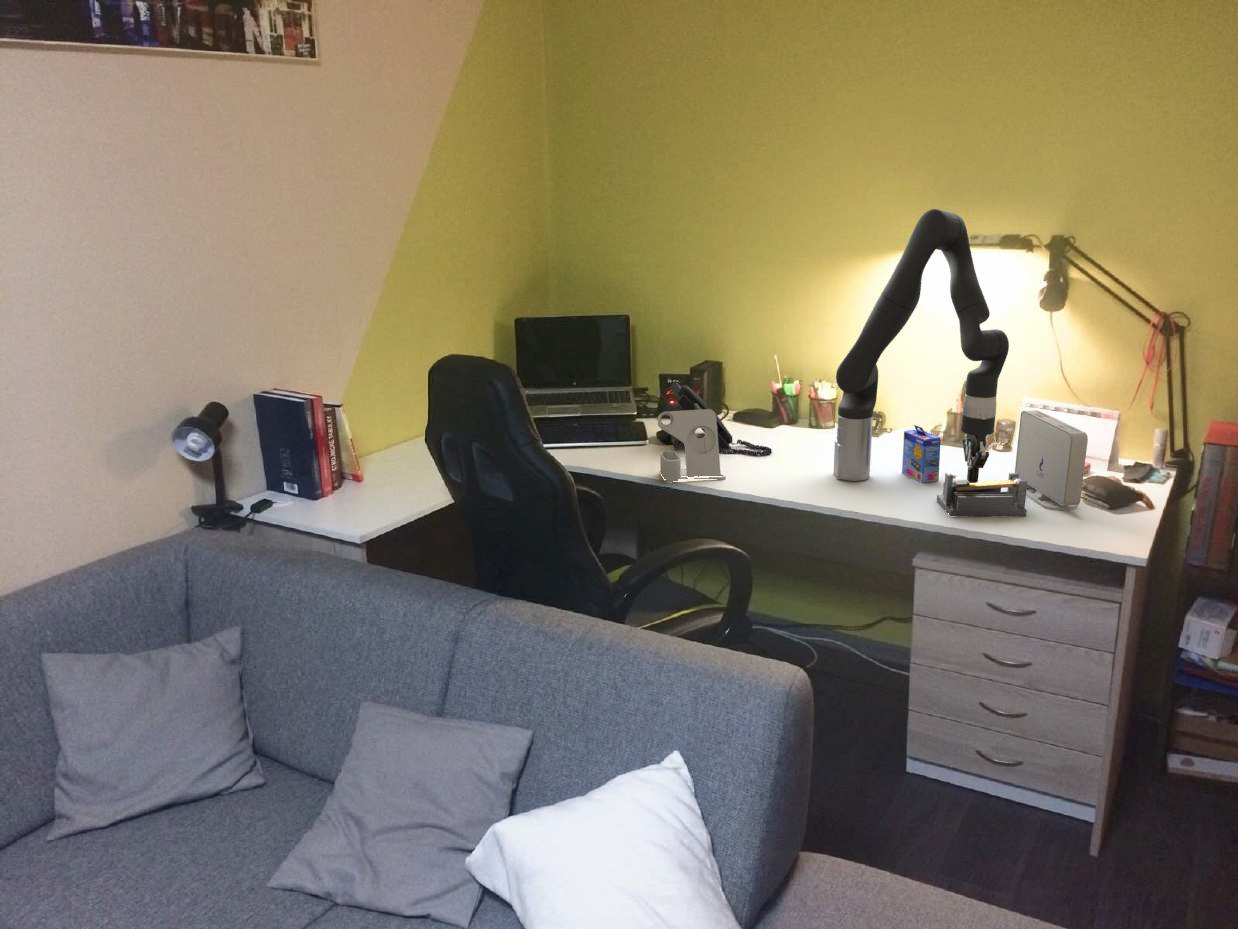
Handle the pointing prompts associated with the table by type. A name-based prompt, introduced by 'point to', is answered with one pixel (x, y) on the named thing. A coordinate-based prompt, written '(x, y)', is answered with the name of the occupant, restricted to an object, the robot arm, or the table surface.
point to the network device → (1051, 459)
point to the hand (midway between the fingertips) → (972, 481)
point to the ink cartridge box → (921, 455)
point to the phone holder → (691, 445)
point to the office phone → (688, 402)
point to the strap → (985, 484)
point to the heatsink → (983, 499)
